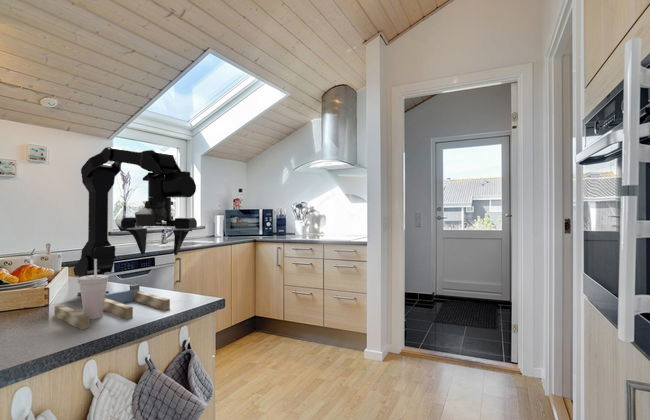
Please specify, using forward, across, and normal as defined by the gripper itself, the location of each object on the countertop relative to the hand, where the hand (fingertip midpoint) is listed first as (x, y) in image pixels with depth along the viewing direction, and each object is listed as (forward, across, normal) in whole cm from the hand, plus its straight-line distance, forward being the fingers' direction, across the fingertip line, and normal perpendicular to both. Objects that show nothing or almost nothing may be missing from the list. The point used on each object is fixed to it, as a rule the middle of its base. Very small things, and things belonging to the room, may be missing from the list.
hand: (159, 254), depth 100 cm
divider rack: (+14, -7, -8) cm, 17 cm away
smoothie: (+14, -10, -12) cm, 21 cm away
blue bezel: (+14, -12, +1) cm, 18 cm away
